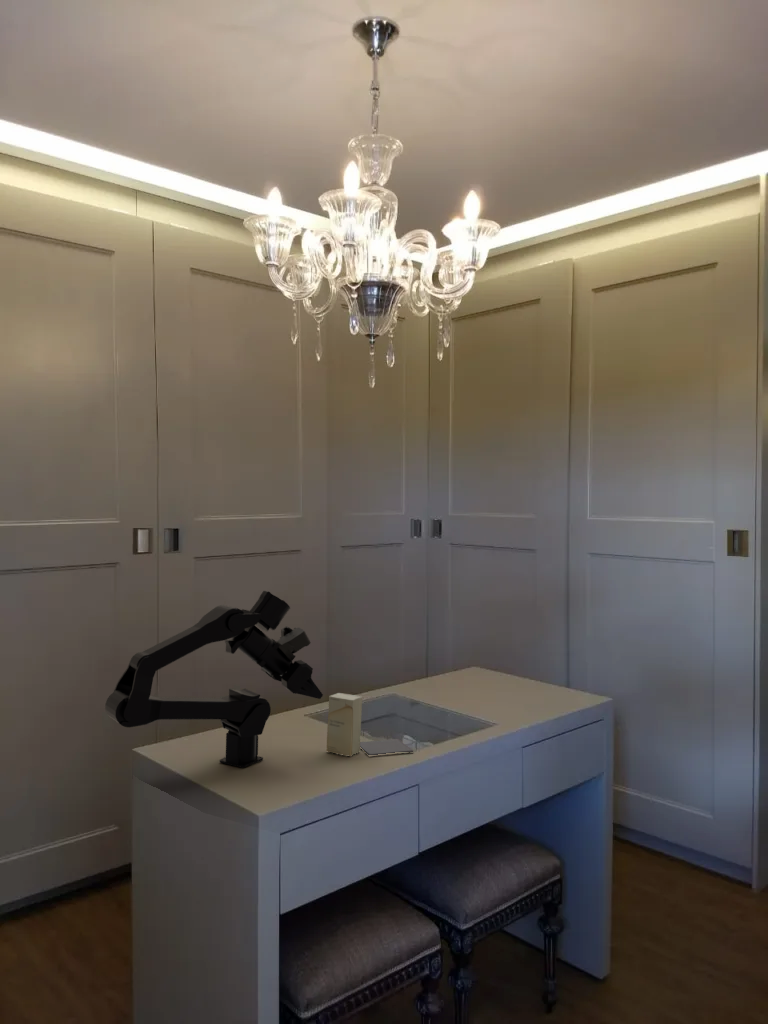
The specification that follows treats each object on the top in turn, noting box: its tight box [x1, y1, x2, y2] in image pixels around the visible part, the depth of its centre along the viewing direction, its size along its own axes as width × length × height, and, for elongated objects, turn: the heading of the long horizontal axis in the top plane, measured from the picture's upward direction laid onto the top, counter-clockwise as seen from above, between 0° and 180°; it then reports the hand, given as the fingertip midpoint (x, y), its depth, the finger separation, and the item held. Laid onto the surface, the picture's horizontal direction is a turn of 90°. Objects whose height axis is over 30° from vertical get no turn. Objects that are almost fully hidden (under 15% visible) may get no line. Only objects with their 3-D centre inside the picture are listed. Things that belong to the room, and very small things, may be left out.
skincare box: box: [325, 692, 363, 757], centre depth 166 cm, size 6×4×12 cm
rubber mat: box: [360, 738, 414, 756], centre depth 169 cm, size 10×9×1 cm
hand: (313, 691), depth 165 cm, fingers open, 9 cm apart
